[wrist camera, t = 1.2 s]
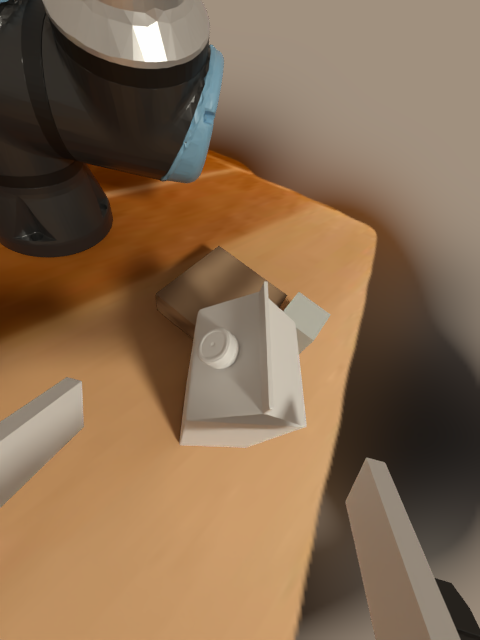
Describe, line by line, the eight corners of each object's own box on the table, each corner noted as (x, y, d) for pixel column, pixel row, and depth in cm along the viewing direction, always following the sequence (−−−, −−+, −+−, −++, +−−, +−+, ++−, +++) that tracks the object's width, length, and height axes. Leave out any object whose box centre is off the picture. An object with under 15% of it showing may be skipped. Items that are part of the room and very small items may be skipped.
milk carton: (246, 382, 31) (322, 289, 16) (246, 448, 28) (345, 413, 12) (187, 377, 30) (203, 270, 14) (178, 445, 27) (188, 403, 11)
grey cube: (267, 333, 36) (279, 315, 32) (285, 311, 38) (298, 291, 34) (296, 356, 35) (313, 340, 31) (312, 332, 38) (330, 314, 33)
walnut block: (157, 311, 34) (155, 293, 31) (215, 264, 40) (218, 245, 37) (228, 369, 32) (234, 357, 29) (277, 310, 39) (287, 295, 35)
